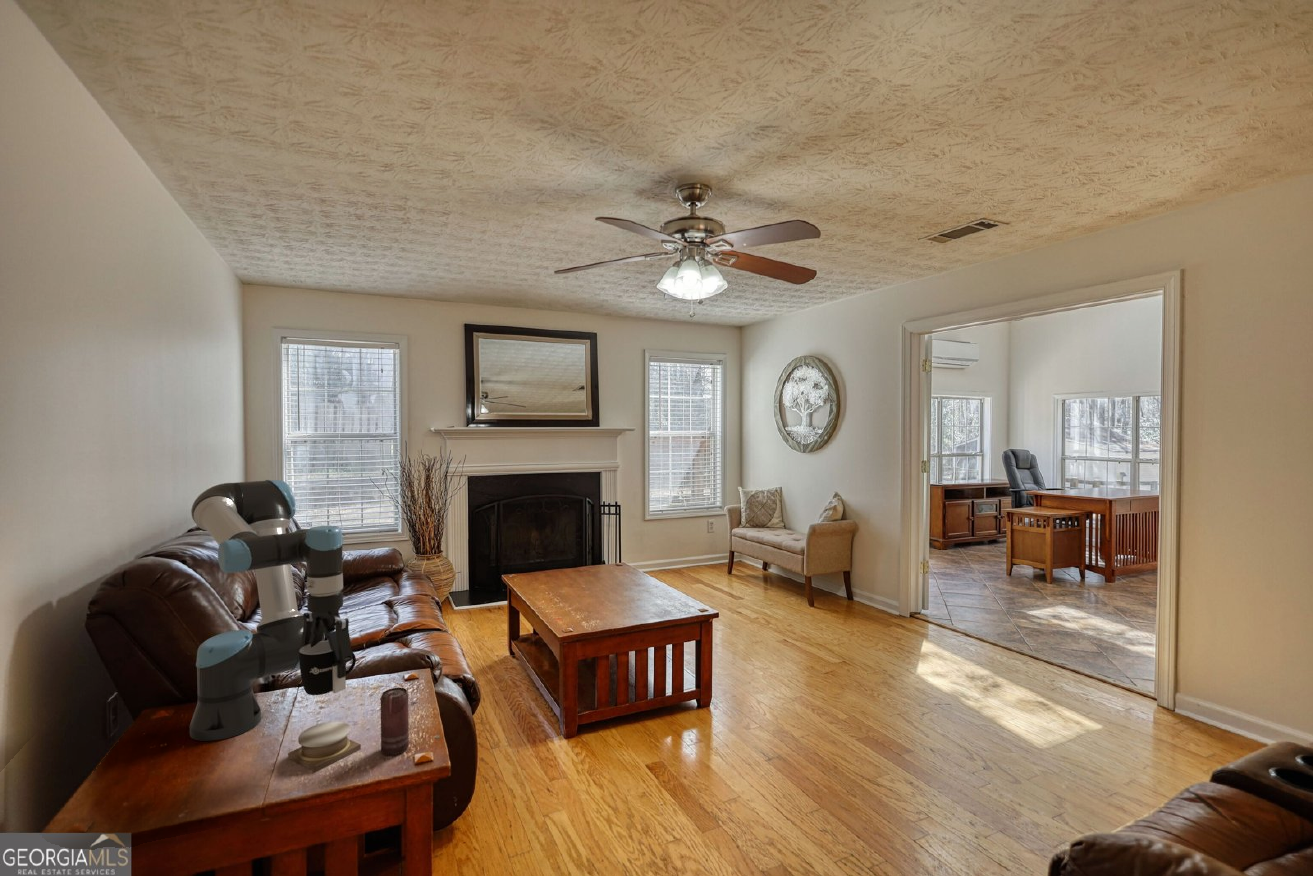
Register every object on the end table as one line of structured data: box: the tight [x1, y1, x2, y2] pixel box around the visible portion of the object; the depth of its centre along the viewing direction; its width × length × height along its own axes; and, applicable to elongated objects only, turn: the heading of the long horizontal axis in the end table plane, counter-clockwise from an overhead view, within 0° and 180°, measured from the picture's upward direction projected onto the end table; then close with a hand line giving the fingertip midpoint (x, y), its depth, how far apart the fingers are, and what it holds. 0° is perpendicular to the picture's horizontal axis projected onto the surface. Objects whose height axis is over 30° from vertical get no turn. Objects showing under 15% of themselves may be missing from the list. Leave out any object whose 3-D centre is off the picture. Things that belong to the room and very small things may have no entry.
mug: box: [299, 640, 357, 696], centre depth 148 cm, size 12×9×10 cm
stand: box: [287, 721, 362, 773], centre depth 148 cm, size 11×11×5 cm
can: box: [380, 687, 410, 757], centre depth 149 cm, size 6×6×14 cm
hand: (326, 686), depth 148 cm, fingers closed on mug, 9 cm apart
